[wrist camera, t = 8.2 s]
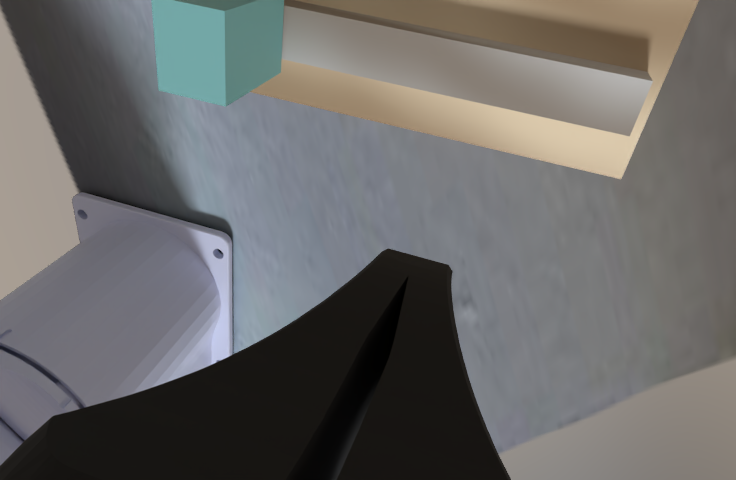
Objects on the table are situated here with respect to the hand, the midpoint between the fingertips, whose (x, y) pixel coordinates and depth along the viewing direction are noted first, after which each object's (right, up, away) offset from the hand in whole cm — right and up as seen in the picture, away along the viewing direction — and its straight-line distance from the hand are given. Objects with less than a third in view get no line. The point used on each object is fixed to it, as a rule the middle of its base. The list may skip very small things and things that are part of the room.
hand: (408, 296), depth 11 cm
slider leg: (-4, +10, +5) cm, 12 cm away
